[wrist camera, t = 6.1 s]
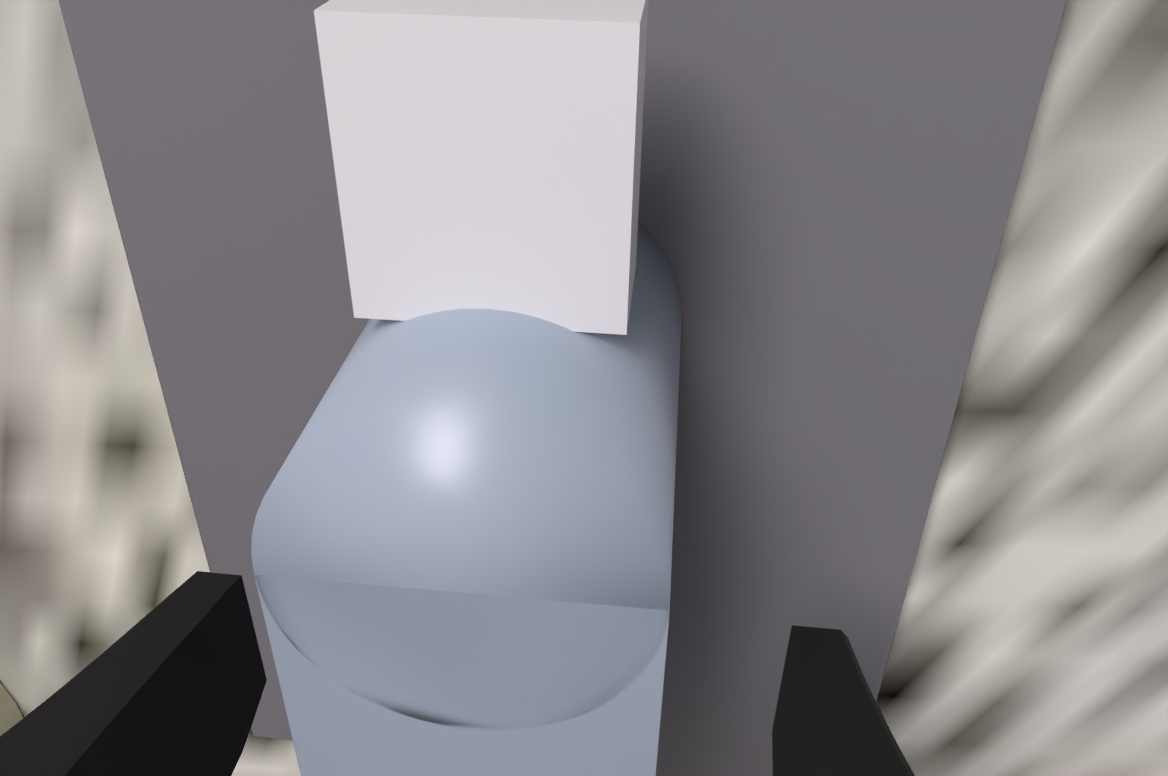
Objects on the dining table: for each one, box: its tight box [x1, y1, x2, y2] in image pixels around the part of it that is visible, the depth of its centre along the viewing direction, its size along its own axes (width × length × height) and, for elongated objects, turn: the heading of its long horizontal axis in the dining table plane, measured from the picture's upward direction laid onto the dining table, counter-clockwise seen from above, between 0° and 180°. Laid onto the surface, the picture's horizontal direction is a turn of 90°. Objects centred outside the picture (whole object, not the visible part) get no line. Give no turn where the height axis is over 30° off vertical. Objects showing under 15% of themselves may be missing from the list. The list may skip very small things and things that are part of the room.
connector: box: [251, 0, 681, 776], centre depth 12 cm, size 13×4×6 cm, turn 179°
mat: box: [59, 0, 1066, 776], centre depth 15 cm, size 16×12×1 cm
